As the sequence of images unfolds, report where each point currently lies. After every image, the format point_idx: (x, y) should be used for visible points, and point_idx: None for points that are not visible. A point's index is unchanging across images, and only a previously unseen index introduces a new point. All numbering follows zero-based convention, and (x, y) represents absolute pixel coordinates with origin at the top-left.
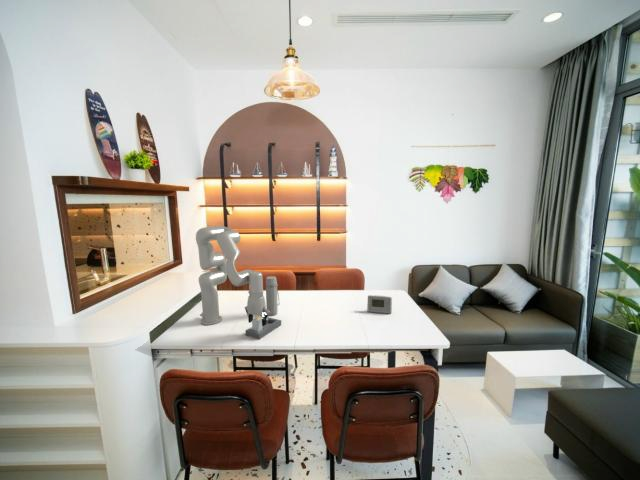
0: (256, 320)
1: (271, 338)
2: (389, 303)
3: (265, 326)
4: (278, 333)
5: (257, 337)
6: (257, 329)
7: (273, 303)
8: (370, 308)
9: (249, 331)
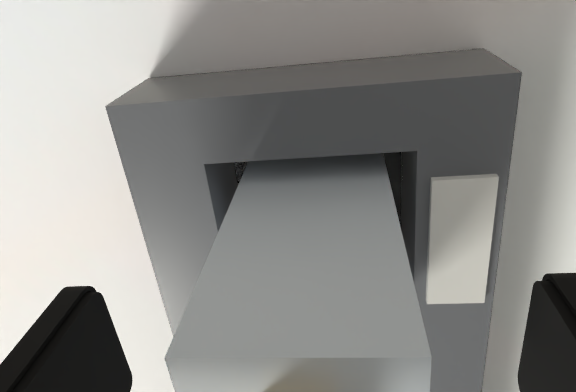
0: (229, 368)
1: (43, 195)
2: None
3: None
4: None
5: (187, 81)
6: (244, 202)
7: None
8: None
9: (390, 85)
